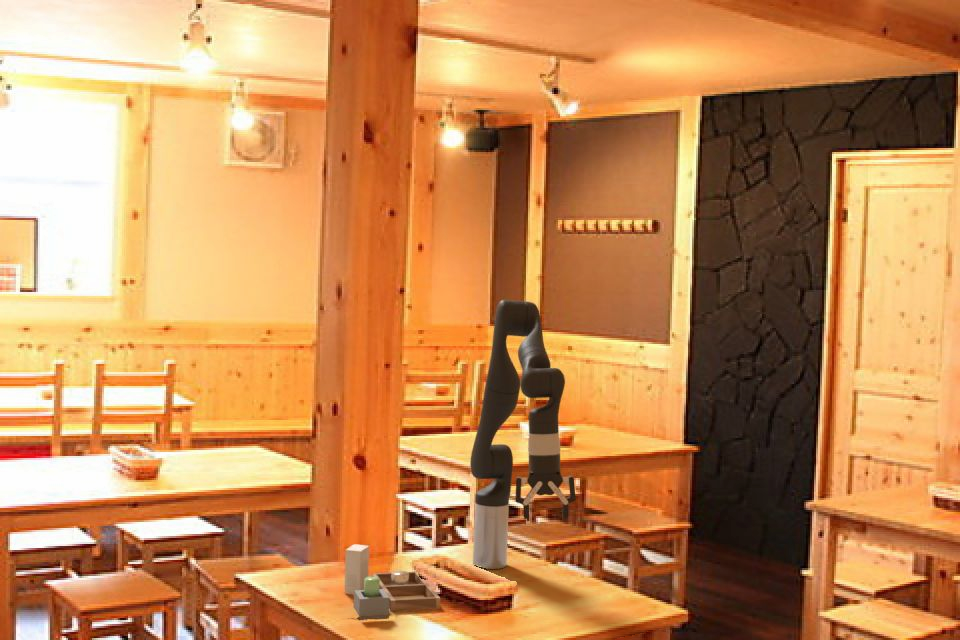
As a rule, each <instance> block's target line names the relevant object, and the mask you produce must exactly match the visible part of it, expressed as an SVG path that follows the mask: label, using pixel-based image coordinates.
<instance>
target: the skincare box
mask: <svg viewBox="0 0 960 640" xmlns="http://www.w3.org/2000/svg"><path fill="white" fill-rule="evenodd" d="M344 559H345V561H344V562H345V563H344V564H345V565H344V566H345V567H344V594H345V595H346V594H347V595H353V596H354V590H364V579H365V578H366V577H370V575H369V572H370V571H369V570H370V545H365V544H358V543H357V544H356V543H354V544H352V545H350V546H349V547H348V548H347V549H345V558H344Z"/></svg>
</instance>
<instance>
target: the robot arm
mask: <svg viewBox="0 0 960 640" xmlns="http://www.w3.org/2000/svg"><path fill="white" fill-rule="evenodd" d="M497 304H498V305H497V307H496V311H495V317H494V323H493V325H494V327H493V335H492V343H491V344H492V345H491V353H490V359H489V364H488V370H487V375H486V379H485V385H484V390H483V398H482V406H481V411H480V418H479V423H478V426H477V427H478V428H477V431H476V435H475V439H474V442H473V446H472V450H471V453H470V454H471V455H470V462H469V463H470V465H469V466H470V467H469V468H470V473H471V474H472V476H473V477H474V478H475V479H477V480H478V479H479V480H492V482H491V483H490V484H488V485H487V486H485V487H483V488H481V489H479V490H477V491H476V493H475V496H474V498H475V499H474V525H473V526H474V527H473V529H474V530H473V547H472V548H473V550H472V554H473V555H472V565H473V564H475V565H478V566H481V567H483V568H482V569H484V568H486V570H497V569H503V568H505V567H506V566H507V558H508V533H509V532H508V530H509V508H510V505H509V503H510V497H511V496H510V495H511V491H512V481H513V480H512V478H513V468H514V457H513V452H512V451H513V450H512V449H511V448H510V446H509V445H507V444H502V443H501V444H492V443H493V441H494V438H495V436H496V434H497V433H498V430H499V429H500V428H501V427H502V426H503V425H504V424H505V423H506V422H507V420H509V418H510V417H511V415H512V414H513V413H514V411H515V410H516V408H517V405H518V402H519V401H518V400H519V396H520V391H521V393H522V395H523V396H525V397H527V398H530V399H545V398H546V399H548V401H547V403H546V404H545V405H543V406H539V407H536V408H532V409H531V410H529V412H528V443H527V444H528V445H527V446H528V447H527V448H528V449H527V451H528V476H527V477H521V476H516V480H515V503H517V504H521V505H522V506H523V518H524V519H525V520H526V522H530V521H531V519H530V518H531V517H530V516H531V515H530V514H531V513H530V512H531V511H530V504H529V503H530V502H531V500H533V498H534V496H535V495H538V496H544V495H545V496H553V495H556V497H558V499H559V500H560V501H561V502H562V507H561V508H562V511H561V512H562V513H561V514H562V521H566V519H568V518H569V504H571V503H575V502H576V501H577V500H576V486H575V478H574V476H573V475H569V476H562V473H561V472H562V471H561V441H560V434H559V413H560V407H561V406H560V405H561V402H562V397H563V393H564V391H565V386H566V380H565V379H566V378H565V375H564V373H563V372H562V370H561V369H560V368H556V367H551V361H550V358H549V355H548V353H547V350H546V348H545V347H546V346H545V344H544V335H543V328H542V320H541V314H540V311H539V307H538V305H537V304H536V303H534V302H531V301H526V300H525V301H524V300H522V301H521V300H512V299H502V300H500V301H499V303H497ZM508 336H512V337H520V338H521V337H522V338H523V337H524V339H523V340H522V341H521V342H520V344H519V347H518V351H517V357H518V361H519V364H520V367H521V376H520V375H519V374H518V371H517V368H516V366H515V364H514V363H513V361H512V358H511V356H510V354H509V351H508V347H507V339H508ZM563 482H564V483H565V485H566V486H567V487H569V496H568V497H566V496H565V494H564V493H563V491H562V490H561V489H560V487H561V485H562V484H563ZM526 483H527V484H528V485H529V487H530V488H531V489H530V490H529V492H528V493H527V495H526V496H525V497H524V498H523V497H522V487H524V486H525V484H526Z"/></svg>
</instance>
